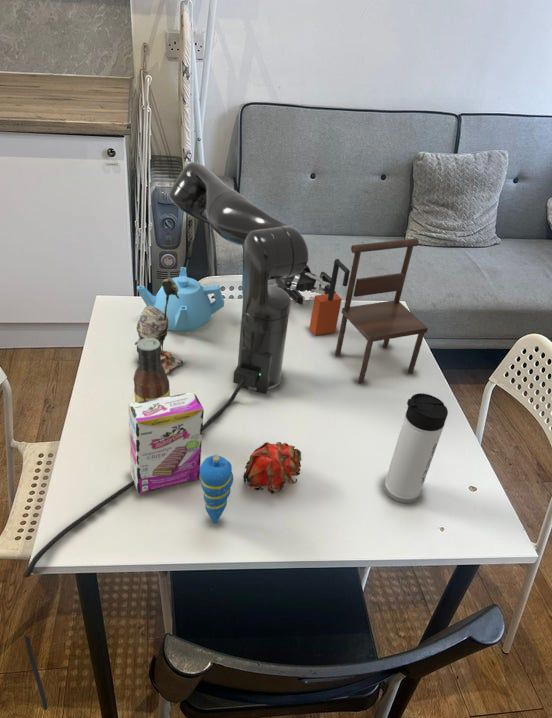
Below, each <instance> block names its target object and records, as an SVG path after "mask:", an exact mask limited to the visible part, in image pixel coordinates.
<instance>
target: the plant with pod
mask: <svg viewBox="0 0 552 718" xmlns="http://www.w3.org/2000/svg"><path fill="white" fill-rule="evenodd" d="M160 284H161V287H162V286H163V289H164V292H165V294H166V306H165V313H163V312H162V311H161V310H159V309H157V308H155V307H153V306H151V305H145V306H144V307H143V310H142V312H141V314H140V316H139V319H138V321H137V323H136V327H135V328H136V332H137V334H138V337H139V338H138V339H137V340H136V341H135V342H134V344H133V345H134V346H137V342H138V341H139V340H141V339H144V338H155V339H157V340H158V341H159V342H160V343H161V352H160V356H161V363H162V366H163V368H164V371H165V373H166V374H169V373H170V372H172V370H174V369H175V368H176V367H179V366H180V365H183V364H184V362H185V361H184V360H182V359H179V358H178V357H177V356H176V355H175V354H174V353H172V352H171V351H168V350H164V349H163V348H164V341H165V339H166V337H167V336H168V317H167V316H166V312H167V304H168V300H169V295H171V294H172V295H175V296H176V297H177V298H178V299H179V297H178V294H177V292H178V287H177V286H176V284H175V282H174V281H173V279H172V278H171V277H169V278H165V279H162V280H161V281H160ZM150 303H151V302H150ZM137 364H138V365H139V360H138V361H137Z"/></svg>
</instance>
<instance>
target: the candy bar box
mask: <svg viewBox="0 0 552 718" xmlns="http://www.w3.org/2000/svg"><path fill="white" fill-rule="evenodd" d="M204 412H205V409H204V407H203V405H202V403H201V402H200V400H199V397H198V396H197V394H196V392H195V391H191V392H185V393H180V394H174V395H170V396H169V397H163V398H158V399H152V400H147V401H141V402H136V403H135V402H131V403H128V427H129V448H130V449H129V455H130V475H131V479H132V481H133V480H134V483H135V485H134V487H135V489H136V492H137V494H138V495H142V494H145V493H149V492H155V491H158V490H161V489H165V488H169V487H174V486H177V485H181V484H186V483H190V482H193V481H198V480H200V478H201V477H200V467H201V461H202V444H203V443H202V440H203V432H202V429H203V425H204Z"/></svg>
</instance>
